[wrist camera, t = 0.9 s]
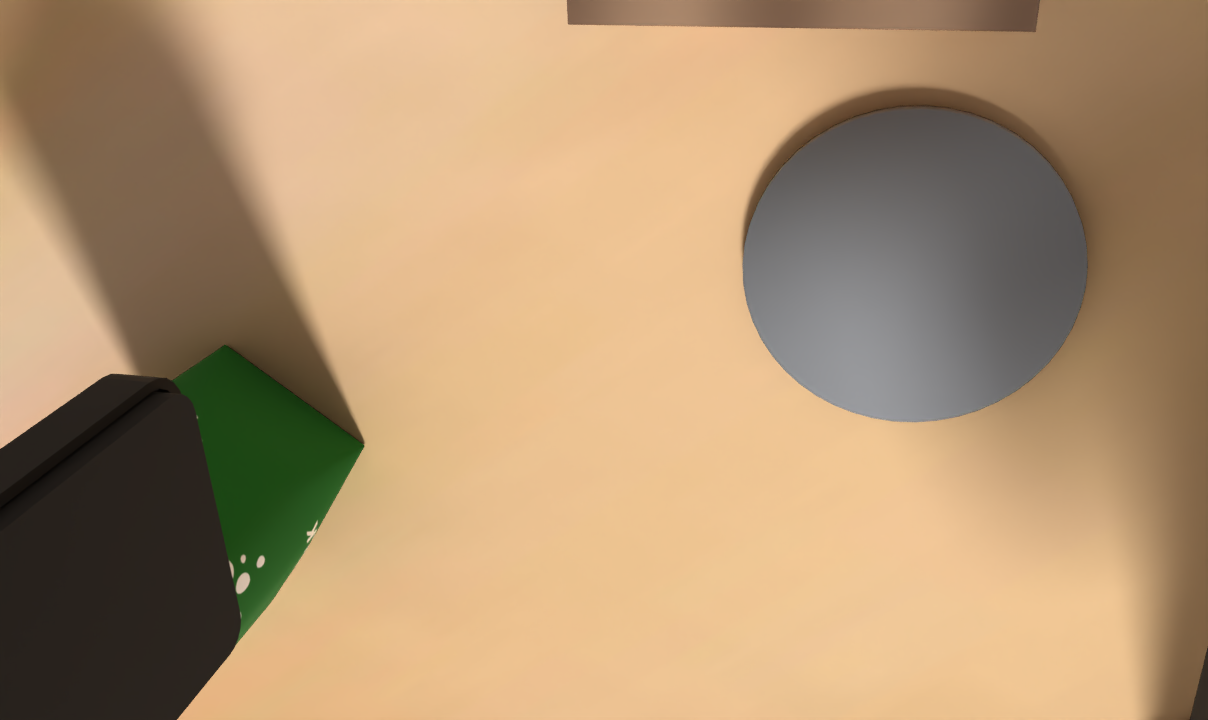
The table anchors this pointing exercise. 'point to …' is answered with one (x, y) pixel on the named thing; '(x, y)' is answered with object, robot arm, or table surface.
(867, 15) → the holder
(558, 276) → the table surface
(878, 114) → the mat
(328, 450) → the milk carton
